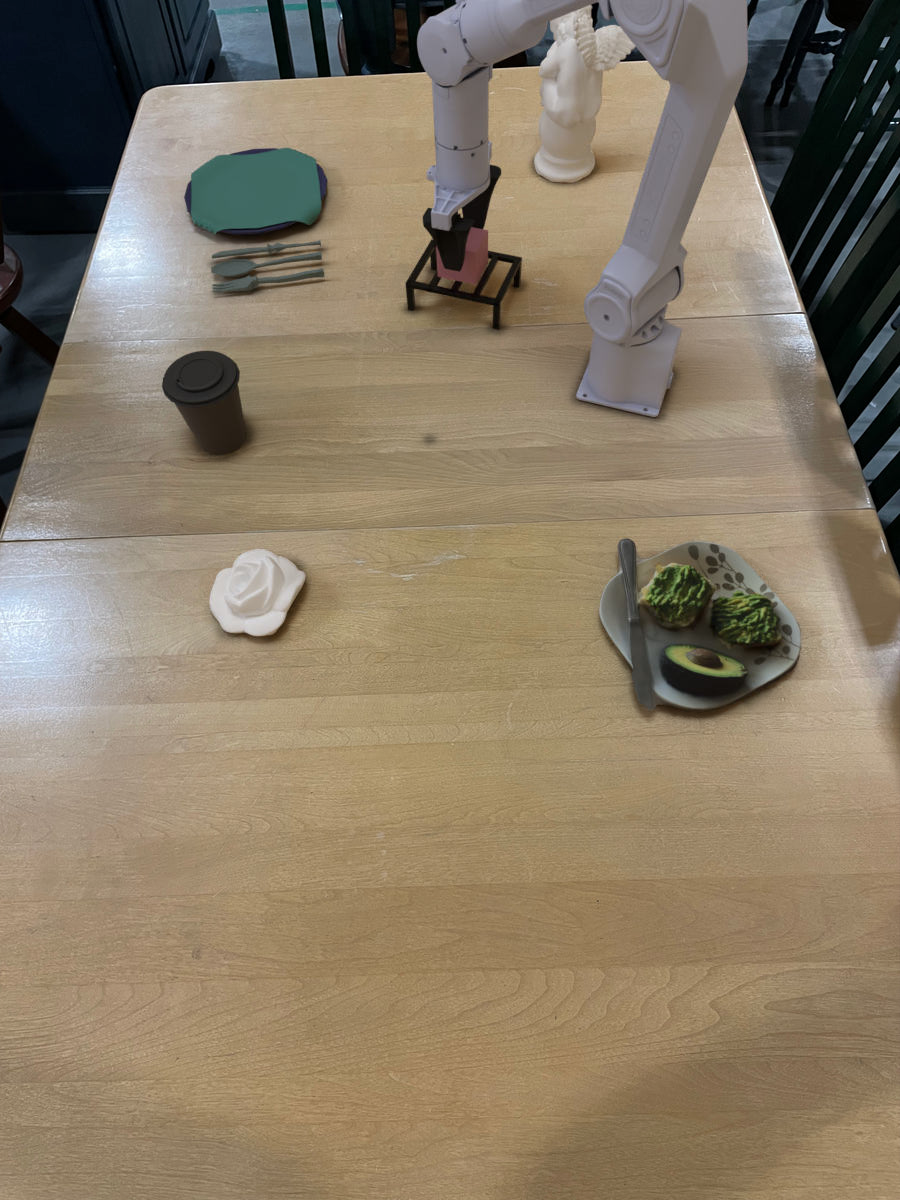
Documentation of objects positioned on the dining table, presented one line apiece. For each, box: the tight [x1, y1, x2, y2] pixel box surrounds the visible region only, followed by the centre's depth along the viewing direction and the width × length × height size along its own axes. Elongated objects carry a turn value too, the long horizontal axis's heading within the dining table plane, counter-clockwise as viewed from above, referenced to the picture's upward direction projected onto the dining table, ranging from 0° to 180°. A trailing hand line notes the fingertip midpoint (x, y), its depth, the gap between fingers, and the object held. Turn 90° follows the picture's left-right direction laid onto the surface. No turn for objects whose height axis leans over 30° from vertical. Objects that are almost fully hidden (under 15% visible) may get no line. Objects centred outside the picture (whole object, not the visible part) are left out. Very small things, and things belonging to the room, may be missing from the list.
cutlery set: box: [183, 147, 328, 294], centre depth 116 cm, size 20×30×2 cm, turn 9°
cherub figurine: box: [533, 4, 637, 184], centre depth 112 cm, size 12×12×22 cm
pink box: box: [436, 227, 489, 286], centre depth 102 cm, size 5×4×4 cm
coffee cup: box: [161, 350, 247, 456], centre depth 92 cm, size 8×8×10 cm
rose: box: [208, 548, 307, 637], centre depth 82 cm, size 10×4×10 cm
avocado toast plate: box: [598, 537, 802, 713], centre depth 79 cm, size 19×18×5 cm
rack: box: [405, 238, 523, 331], centre depth 105 cm, size 12×9×4 cm
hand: (464, 248), depth 101 cm, fingers open, 7 cm apart
